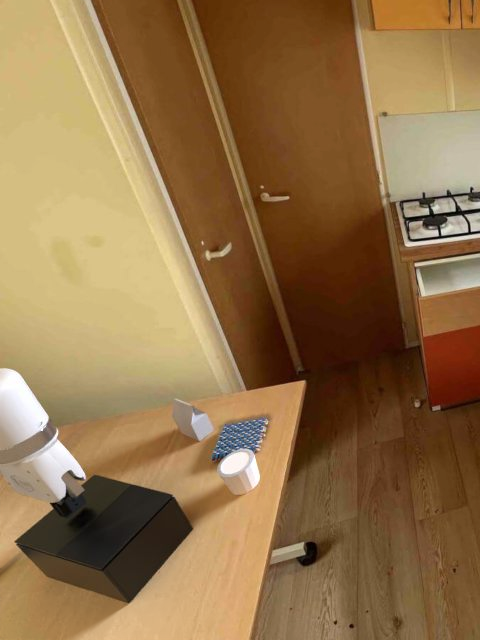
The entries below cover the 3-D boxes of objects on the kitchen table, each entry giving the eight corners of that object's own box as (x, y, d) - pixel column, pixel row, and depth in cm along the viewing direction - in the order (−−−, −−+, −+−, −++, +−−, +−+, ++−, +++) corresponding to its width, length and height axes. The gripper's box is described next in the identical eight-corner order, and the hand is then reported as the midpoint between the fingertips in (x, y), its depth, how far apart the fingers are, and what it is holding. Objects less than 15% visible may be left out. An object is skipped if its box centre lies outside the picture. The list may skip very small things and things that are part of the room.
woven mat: (270, 419, 108) (268, 414, 107) (260, 455, 99) (257, 449, 98) (225, 428, 106) (222, 422, 105) (210, 465, 96) (207, 459, 95)
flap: (15, 542, 72) (13, 541, 71) (95, 475, 83) (94, 474, 82) (56, 556, 70) (55, 554, 70) (133, 485, 81) (132, 484, 81)
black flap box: (46, 576, 77) (13, 541, 71) (118, 508, 88) (94, 473, 82) (129, 603, 73) (100, 568, 68) (193, 528, 84) (172, 494, 79)
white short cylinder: (269, 477, 94) (260, 457, 91) (238, 503, 89) (228, 482, 85) (251, 463, 97) (242, 443, 94) (220, 488, 92) (210, 467, 88)
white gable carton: (199, 441, 102) (185, 412, 97) (180, 433, 104) (165, 404, 100) (214, 429, 105) (200, 400, 100) (195, 421, 107) (181, 393, 103)
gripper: (-46, 449, 65) (16, 520, 73) (28, 470, 62) (83, 541, 71) (15, 412, 71) (65, 481, 80) (84, 429, 69) (128, 499, 77)
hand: (73, 509), depth 75 cm, fingers closed
